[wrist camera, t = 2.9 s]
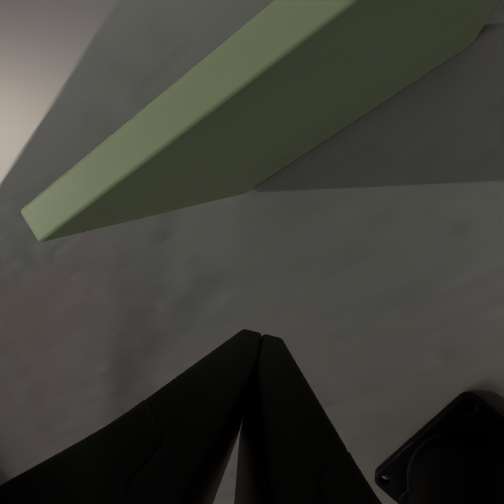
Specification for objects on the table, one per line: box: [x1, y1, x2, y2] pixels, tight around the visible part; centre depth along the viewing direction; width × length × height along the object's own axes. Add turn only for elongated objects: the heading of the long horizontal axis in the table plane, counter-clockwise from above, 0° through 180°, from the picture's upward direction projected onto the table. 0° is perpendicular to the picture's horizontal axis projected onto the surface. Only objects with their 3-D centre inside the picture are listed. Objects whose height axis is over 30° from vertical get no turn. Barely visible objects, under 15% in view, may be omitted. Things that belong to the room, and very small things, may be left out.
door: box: [21, 0, 500, 242], centre depth 13 cm, size 11×1×13 cm, turn 122°
